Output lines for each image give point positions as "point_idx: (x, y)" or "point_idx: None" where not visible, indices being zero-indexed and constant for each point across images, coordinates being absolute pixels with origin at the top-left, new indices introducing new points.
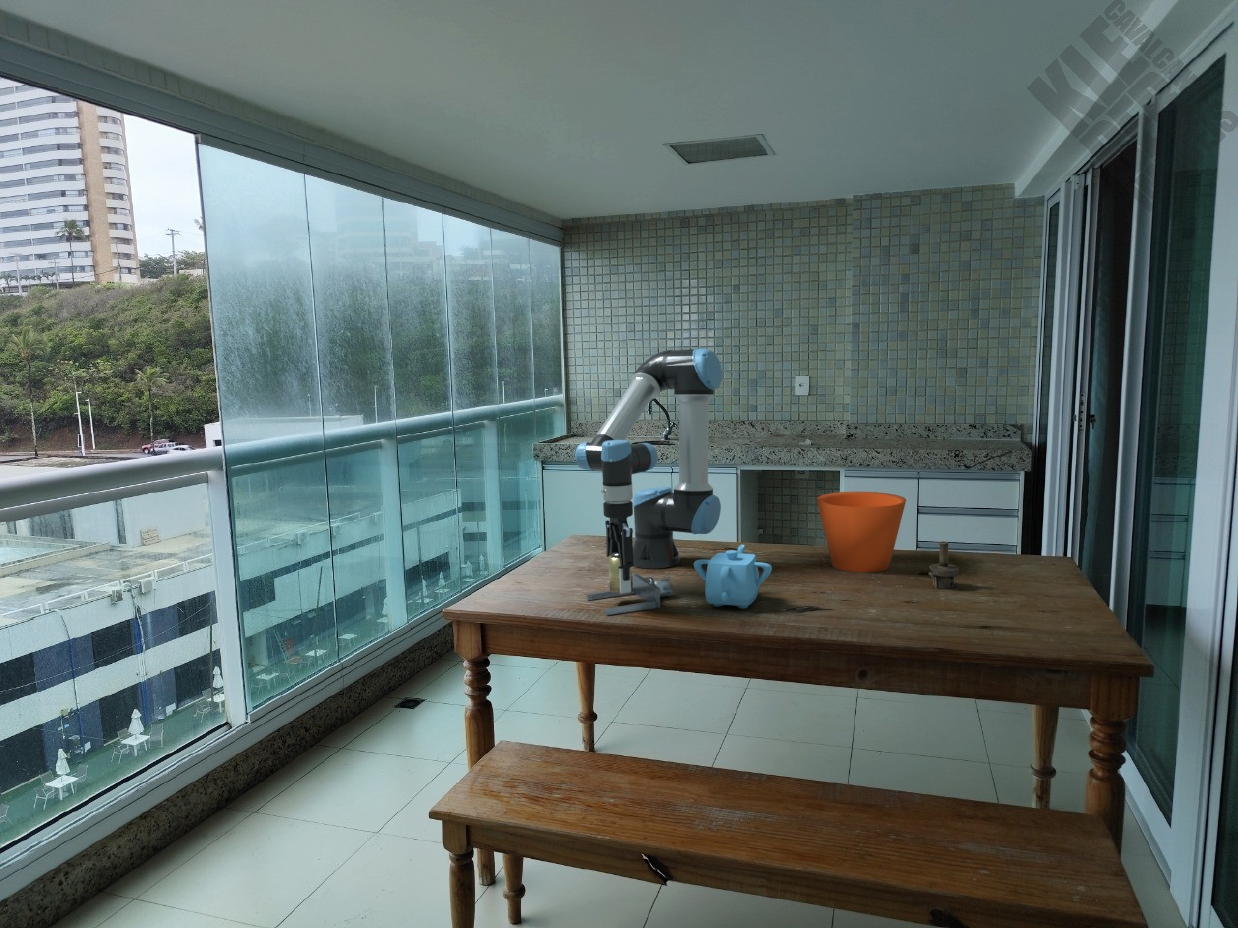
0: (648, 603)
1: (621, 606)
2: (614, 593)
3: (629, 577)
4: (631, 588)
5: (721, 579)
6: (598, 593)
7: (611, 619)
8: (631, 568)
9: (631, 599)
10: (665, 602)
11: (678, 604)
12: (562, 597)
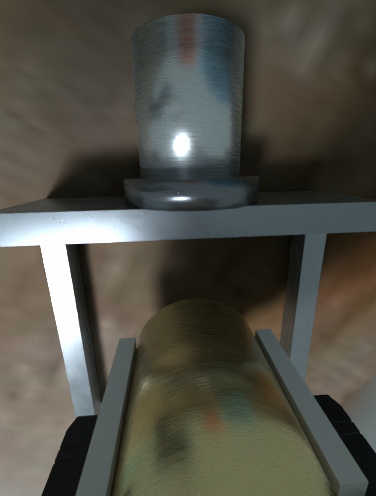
0: (323, 250)
1: (297, 354)
2: (82, 321)
3: (346, 415)
4: (245, 323)
5: None
6: (89, 388)
7: (332, 382)
8: (292, 425)
9: (153, 263)
10: (267, 138)
11: (328, 90)
12: (29, 462)
